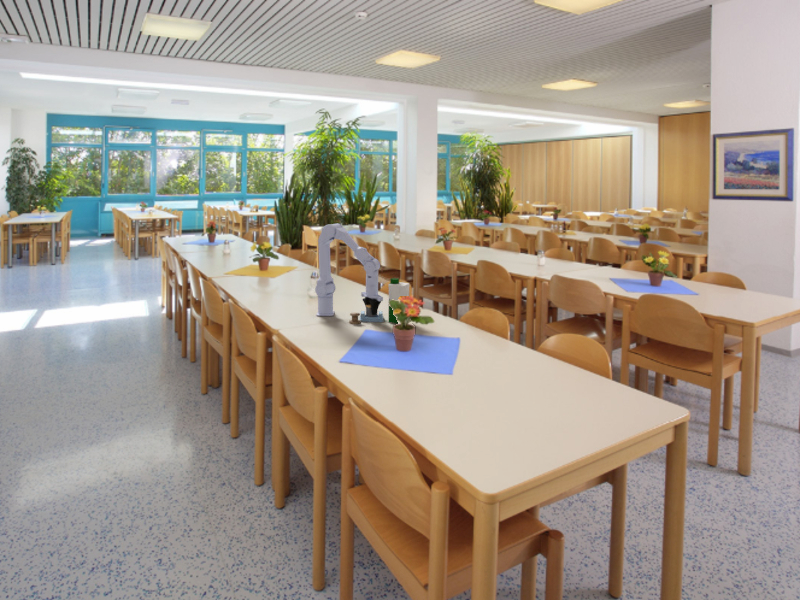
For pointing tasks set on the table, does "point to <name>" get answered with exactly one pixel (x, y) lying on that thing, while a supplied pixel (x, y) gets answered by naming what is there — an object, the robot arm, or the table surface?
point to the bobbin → (354, 318)
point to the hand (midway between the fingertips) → (371, 313)
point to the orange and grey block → (369, 311)
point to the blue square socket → (371, 319)
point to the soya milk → (396, 294)
